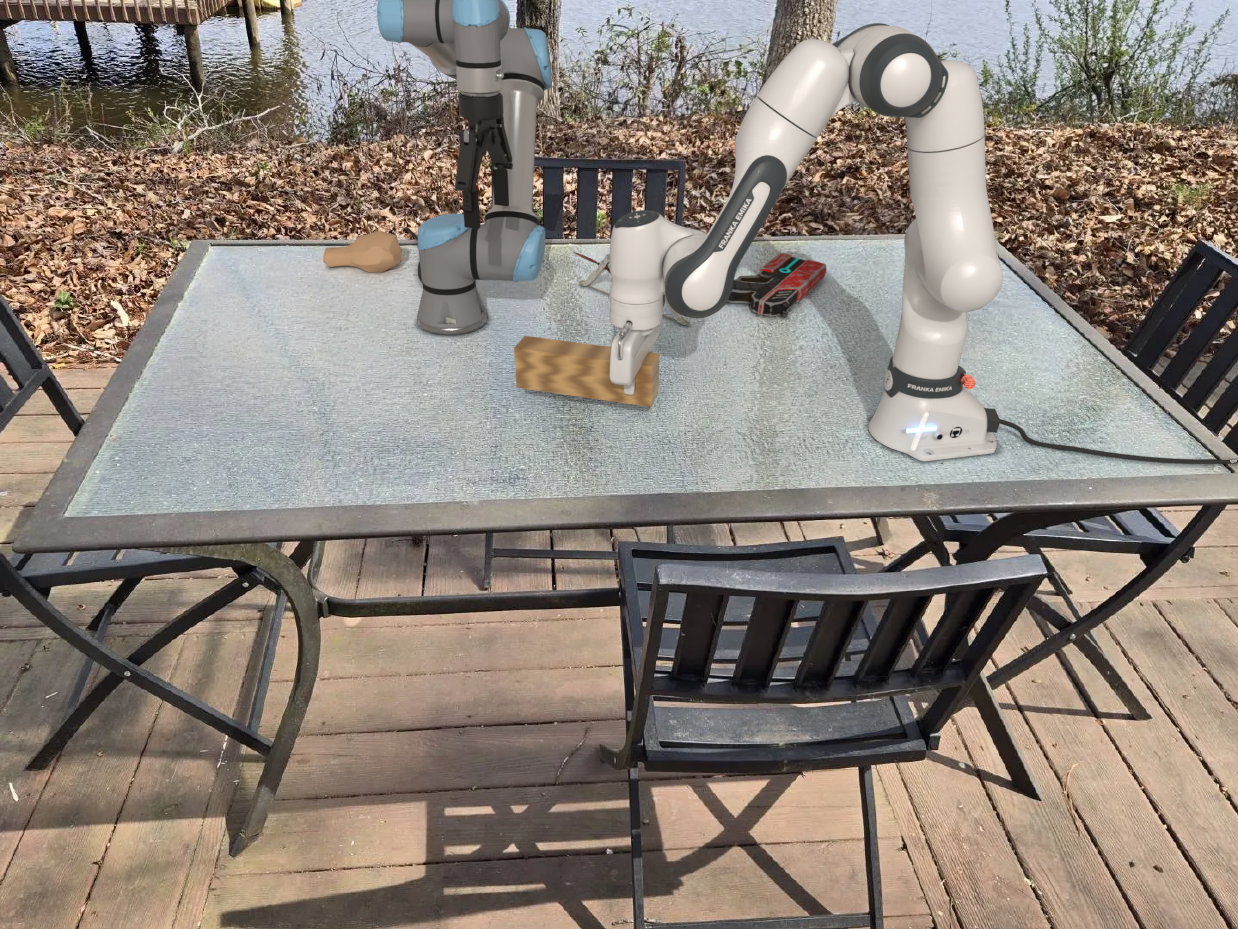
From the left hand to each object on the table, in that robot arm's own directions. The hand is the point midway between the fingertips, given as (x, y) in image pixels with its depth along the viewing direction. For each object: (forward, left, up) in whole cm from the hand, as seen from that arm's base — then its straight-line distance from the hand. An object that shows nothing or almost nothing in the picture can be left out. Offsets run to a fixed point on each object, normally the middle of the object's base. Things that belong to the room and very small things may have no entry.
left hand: (487, 215), depth 160 cm
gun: (+11, +76, -32) cm, 83 cm away
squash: (-66, +9, -32) cm, 74 cm away
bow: (-6, +44, -32) cm, 55 cm away
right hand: (+36, +3, -22) cm, 42 cm away
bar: (+28, -1, -24) cm, 37 cm away
